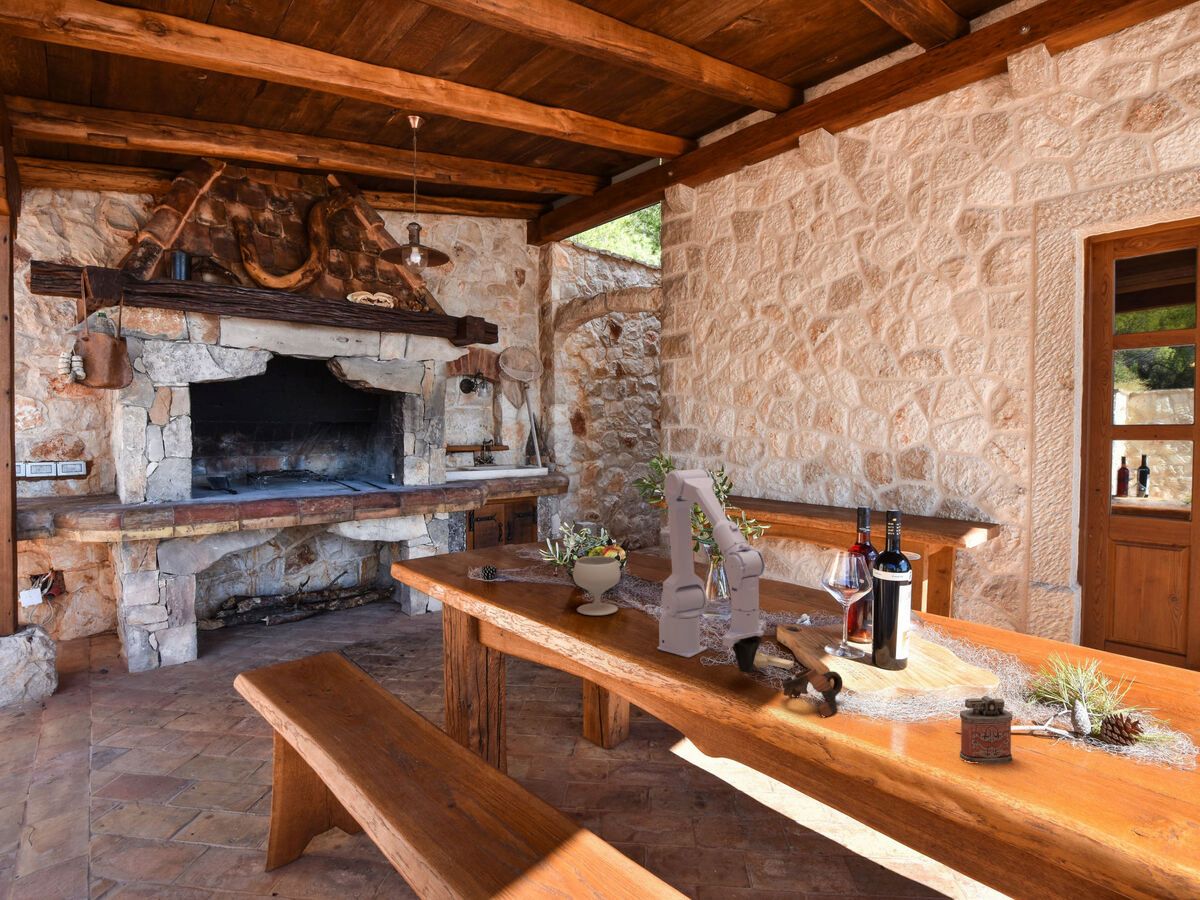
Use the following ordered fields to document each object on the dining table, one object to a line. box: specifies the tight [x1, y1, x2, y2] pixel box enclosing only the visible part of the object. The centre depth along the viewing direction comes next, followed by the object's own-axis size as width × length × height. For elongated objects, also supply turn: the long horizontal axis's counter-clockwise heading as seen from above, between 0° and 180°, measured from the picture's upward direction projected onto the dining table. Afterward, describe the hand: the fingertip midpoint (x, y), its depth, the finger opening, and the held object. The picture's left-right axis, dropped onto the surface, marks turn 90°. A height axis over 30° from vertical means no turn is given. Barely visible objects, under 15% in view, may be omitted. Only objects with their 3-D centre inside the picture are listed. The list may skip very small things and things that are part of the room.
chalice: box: [572, 555, 621, 616], centre depth 191 cm, size 14×14×15 cm
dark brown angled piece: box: [781, 667, 843, 717], centre depth 126 cm, size 12×10×8 cm
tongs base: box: [759, 652, 795, 671], centre depth 148 cm, size 14×3×5 cm, turn 47°
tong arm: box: [753, 650, 768, 669], centre depth 146 cm, size 12×4×1 cm, turn 7°
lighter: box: [959, 695, 1013, 765], centre depth 105 cm, size 8×3×10 cm, turn 92°
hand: (745, 671), depth 137 cm, fingers closed
